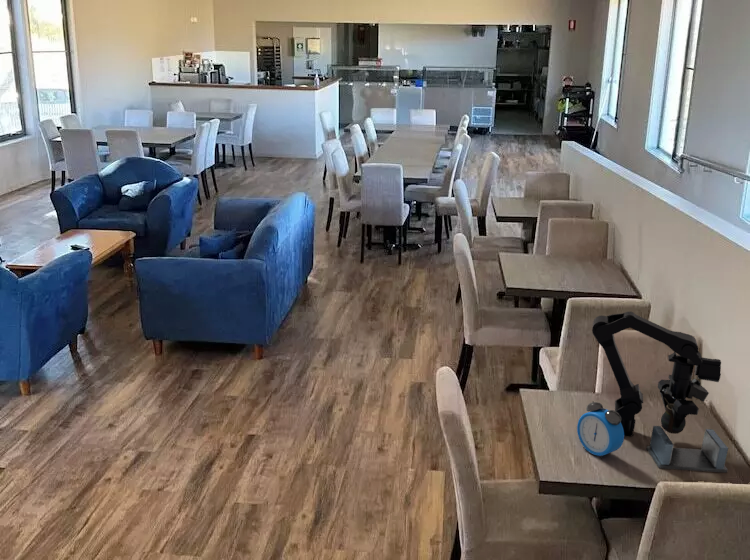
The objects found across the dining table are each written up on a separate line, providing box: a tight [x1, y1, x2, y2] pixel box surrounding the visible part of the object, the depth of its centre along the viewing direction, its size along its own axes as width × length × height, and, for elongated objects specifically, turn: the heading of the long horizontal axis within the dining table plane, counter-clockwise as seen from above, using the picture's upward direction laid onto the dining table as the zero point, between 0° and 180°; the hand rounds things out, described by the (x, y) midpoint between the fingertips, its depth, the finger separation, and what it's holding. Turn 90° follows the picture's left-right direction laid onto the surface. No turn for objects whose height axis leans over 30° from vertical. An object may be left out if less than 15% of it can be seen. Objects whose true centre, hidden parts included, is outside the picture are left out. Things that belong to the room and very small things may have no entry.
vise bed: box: [646, 428, 729, 473], centre depth 223 cm, size 20×11×8 cm, turn 88°
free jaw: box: [649, 425, 674, 465], centre depth 223 cm, size 2×11×7 cm, turn 178°
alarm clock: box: [576, 400, 625, 460], centre depth 224 cm, size 13×6×15 cm, turn 35°
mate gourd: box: [660, 397, 687, 435], centre depth 233 cm, size 7×8×10 cm
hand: (672, 421), depth 234 cm, fingers closed on mate gourd, 7 cm apart
